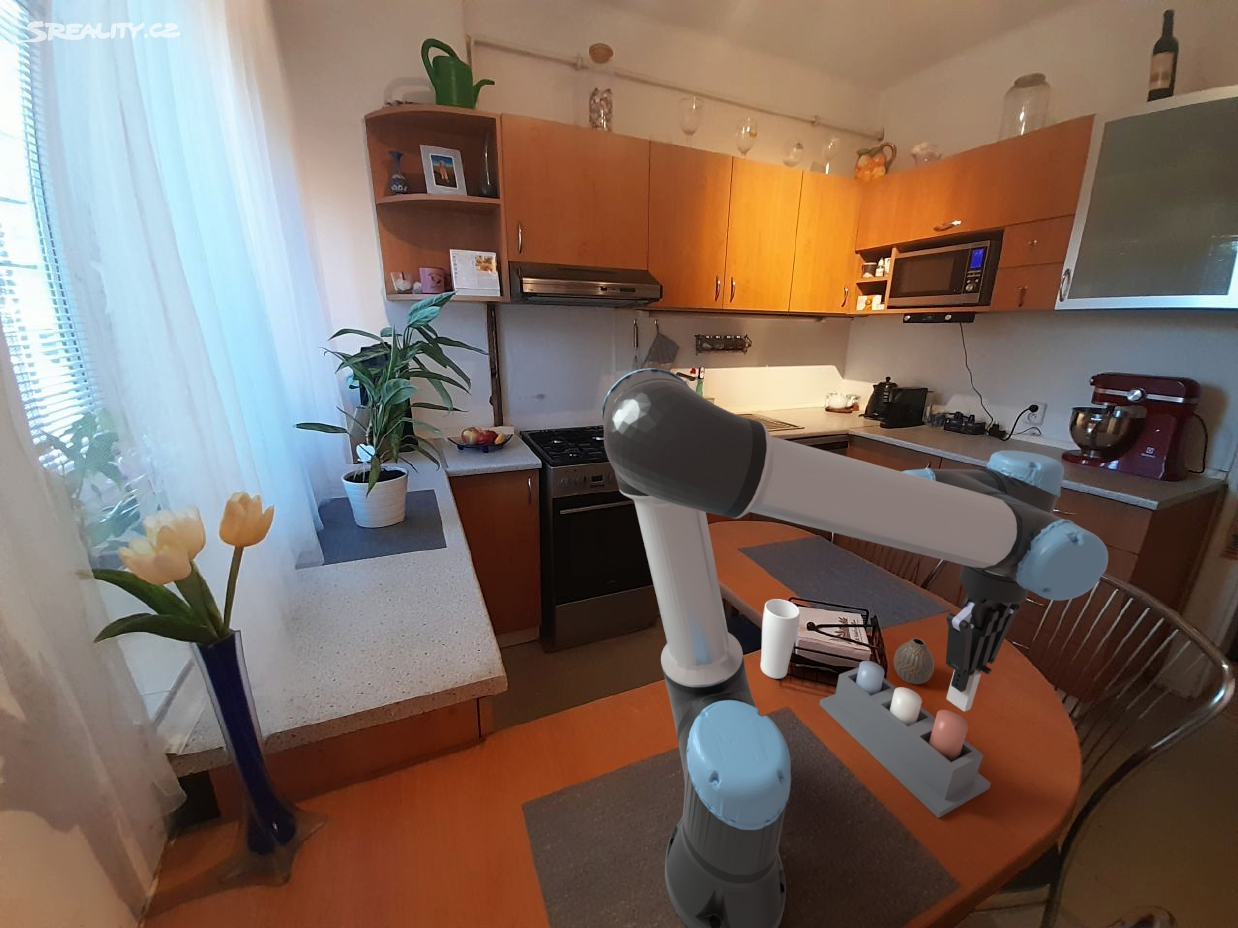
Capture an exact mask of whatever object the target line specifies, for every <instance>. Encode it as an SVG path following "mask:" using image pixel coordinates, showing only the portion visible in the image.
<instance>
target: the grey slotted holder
mask: <svg viewBox="0 0 1238 928" xmlns="http://www.w3.org/2000/svg"><path fill="white" fill-rule="evenodd" d="M858 670H859V667H856V668H853V669H851V670H848V671H845V672H842V673H840V674H838V679H837V685H836V687H835V690H836V691H835V693H834V694H832V695H829V696H826V697H824V698H821V699H819V706H820V707H821V708H822V709H823V710H824V711H825V712H826V713H827V714H828V715H829V716H830V717H831V718H833V719H834V720H835V721H836V722H837V723H838V724H839V725H840V726H841V727H842V728H843V729H844V730H845V731H846V732H847V733H848V734H849V735H850V736H851V737H852V738H853V739H854V740H856V742H857V743H858V744H859V745H861V746H862V747H863V749H865V750H866V751H867V752H868V753H869V755H871V756H873V757H874V759H876V760H877V761H878V762H879V763H880V764H881V765H882V766H883V767H884V768H885V769H886V770H887V771H888V772H889V773H890V774H891V775H892V776H893V777H894V778H895V779H896V780H898V781H899V783H900V784H902V786H903V787H905V788H906V789H907V790H908V791H909V792H910V793H911V794H912V795H913V796H914V797H915V798H917V800H918V801H919V802H921V803H922V805H924V806H925V807H926V808H927V809H928V810H929V811H930V812H931V813H932V814H933V815H934V816H936V818H938V819H939V818H941V817H944V815H946V814H948V813H950V812H952V811H954V810H955V809H957V808H959V807H960V806H962V805H963V804H966V803H967V802H968V801H971V800H972V799H975V797H978V796H980V795H981V794H983V793H985V792H986V791H988V790H989V789H990V787H991V785H992V783H991V782H990V781H989V780H988V779H986V777H984V776H983V775H981V774H980V773H979V769H980V766H981V763H982V760H983V758H984V754H983V753H982V752H981V751H980V750H978V749H977V748H975V747H974V745H972V744H971V743H969V742H968V741H966V740H964V743H963V746H962V749H961V753H960V756H959V759H957V760H955V761H953V762H950V761H949V760H948V759H946V758H945V757H944V756H943V755H942V754H940V753H939V752H938V751H937V750H935V749H934V748H933V747H932V746H931V745H929V741H930V737H931V733H932V730H933V726H934V723H935V719H936V717H935V716H934V715H933V714H932V713H931V712H929V711H928V710H927V709H925V708H924V707H922V706H921V707H920V711H919V715H918V719H917V722H916V723H915V724H912V725H910V726H907V725H905V724H904V723H903V722H902V721H901V720H899V719H898V718H897V717H896V716H895V715H893V714H892V713H891V712H890V707H891V703H892V699H893V694H894V690H895V689H896V688H897V687H896V686H895V685H894V684H892V683H891V682H890V681H889V680H887V679H886V678H885V677H883V682H882V686H881V690H880V692H879V693H877V694H874V695H872V696H870V695H869V694H868V693H867V692H866V691H864V690H863V689H862V688H861V687H860V686H858V685H857V684H856V680H857V675H858Z"/></svg>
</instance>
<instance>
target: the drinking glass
mask: <svg viewBox="0 0 1238 928" xmlns="http://www.w3.org/2000/svg"><path fill="white" fill-rule="evenodd" d="M800 614H801V610H800V608H799V607H798V605H796V604H794V603H793V602H791V601H788V600H785V599H779V598H773V599H769V600H767V601H766V602H765V603H764V608H763V614H762V621H761V651H760V652H761V654H760V655H761V656H760V664H759V665H760V670H761V672H762V673H763V674H764V675H765V676H767V677H769V678H771V679H777V680H778V679H780V680H781V679H783V678H784V677H785V676H787V674H788V669H789V664H790V660H791V656H792V653H793V649H794V646H795V642H796V639H797V634H798V630H799V624H800Z"/></svg>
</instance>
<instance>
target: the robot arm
mask: <svg viewBox="0 0 1238 928" xmlns="http://www.w3.org/2000/svg"><path fill="white" fill-rule="evenodd" d="M601 423H602V425H603V444H604V450H605V453H606V456H607V460H608V461H609V463H610V465H611V467H612V468H613V470H614V474H615V475H614V476H615V479H616V483H617V486H618V489H619V492H620V493H621V494H622V495H623V496H625V497H627V498H629V499H631V500H633V502H634V506H635V510H636V514H637V515H636V516H637V519H638V523H639V527H640V532H641V536H642V540H643V543H644V544H643V545H644V548H645V552H646V558H647V561H648V567H649V570H650V574H651V579H652V584H653V587H654V591H655V594H656V600H657V604H658V608H659V613H660V617H661V622H662V625H663V630H664V633H665V639H666V643H665V646H663V648H662V649H663V650H662V651H661V656H660V663H661V667H662V672H663V675H664V679H665V680H664V681H665V685H666V689H667V693H668V697H669V702H670V706H671V712H672V716H673V721H674V727H675V733H676V738H677V743H678V744H677V745H678V749H679V755H680V760H681V766H682V771H683V778H684V795H683V796H684V797H683V798H684V799H683V809H682V816H681V818H680V819H679V821H678V823H677V824H676V826H675V828H674V829H673V831H672V832H671V835H670V837H669V839H668V843H667V847H666V852H665V859H664V860H665V861H664V879H665V886H666V890H667V893H668V897H669V899H670V902H671V904H672V906H673V908H674V910H675V912H676V914H677V915H678V917H679V919H680V920H681V921H682V923H683V924H684V926H685V927H687V928H779V926H780V924H781V921H782V918H783V913H784V911H785V910H784V909H785V906H786V905H785V904H786V897H787V881H786V874H785V870H784V867H783V862H782V859H781V855H780V851H779V846H780V840H781V835H782V829H783V825H784V824H783V823H784V819H785V812H786V807H787V802H788V801H789V797H790V792H791V784H792V775H791V768H792V767H791V765H792V764H791V763H792V762H791V755H790V751H789V747H788V744H787V741H786V739H785V737H784V735H783V733H782V731H781V730H780V728H779V727H778V726H777V724H776V723H775V722H774V721H773V720H772V719H771V718H770V717H769V716H768V715H764V716H763V715H762V714H761V712H760V710H759V709H758V707H757V704H756V702H755V699H754V697H753V694H752V691H751V688H750V685H749V680H748V676H747V675H748V674H747V669H746V665H745V658H744V654H743V653H744V652H743V649H742V646H741V644H740V641H739V640H738V639H737V638H736V637H735V636H734V635H733V634H732V633H730V632H728V631H729V630H728V627H727V621H726V616H725V610H724V605H723V600H722V594H721V587H720V582H719V578H718V572H717V567H716V561H715V555H714V550H713V546H712V539H711V535H710V530H709V524H708V518H707V513H708V514H713V515H717V516H721V517H725V518H730V519H734V520H737V519H740V518H742V517H744V516H745V515H747V514H748V513H754V514H757V515H761V516H766V517H769V518H772V519H773V518H774V519H778V520H782V521H786V522H790V523H793V524H797V525H803V526H805V527H809V528H815V529H816V530H817V529H818V530H822V531H824V532H825V531H826V532H830V533H834V534H838V535H841V536H844V537H845V536H846V537H850V538H853V539H858V540H862V541H867V542H870V543H875V544H878V545H882V546H886V547H891V548H894V549H898V550H903V551H907V552H911V553H914V554H918V555H923V556H927V557H930V558H935V559H939V560H943V561H946V562H950V563H955V564H960V565H961V569H960V573H959V576H958V580H959V583H960V584H961V586H963V588H964V590H965V591H966V595H965V597H964V599H963V600H962V602H961V609H962V610H960V611H959V613H957V614H955V613H953V612H949V613H948V614H947V616H946V623H947V626H948V631H947V632H948V633H947V641H946V642H947V643H946V644H947V645H946V655H945V665H947V666H948V667H949V668H950V669H952V670H953V673H952V677H951V680H950V684H949V687H948V691H947V694H946V700H947V701H948V702H950V703H951V704H953V705H954V706H955V707H956V708H958V709H960V710H961V711H963V712H964V713H966V712H967V711H969V710H971V709H972V707H973V706H972V705H973V702H974V699H975V696H976V693H977V689H978V686H979V683H980V679H981V676H982V673H985V674H986V675H990V674H991V673H992V668H990V667H988V664H990V665H991V664H994V663H995V661H996V658H997V656H998V654H999V651H1000V650H1001V648H1002V644H1003V642H1004V640H1005V638H1006V636H1007V634H1008V632H1009V629H1010V627H1011V625H1012V623H1013V620H1014V618H1015V617H1016V616H1017V614H1018V613H1019V611H1020V610H1021V608H1022V605H1021V604H1022V602H1024V601H1025V600H1026V599H1027V598H1028V594H1029V592H1032V593H1035V594H1036V595H1038V596H1040V597H1042V598H1043V599H1047V600H1052V601H1066V600H1072V599H1076V598H1078V597H1081V596H1083V595H1085V594H1086V593H1088V592H1089V591H1090V590H1092V589H1093V588H1094V587H1095V586H1096V585H1098V583H1099V581H1100V579H1101V577H1102V575H1104V573H1105V572H1106V570H1107V568H1108V565H1109V564H1108V563H1109V552H1108V549H1107V546H1106V544H1105V543H1104V541H1103V540H1102V539H1101V538H1100V537H1099V536H1098V535H1096V534H1095V533H1093V532H1091V531H1089V530H1087V529H1085V528H1083V527H1081V526H1080V525H1078V524H1076V523H1075V522H1074V521H1072V520H1070V519H1064V518H1062V517H1060V516H1057V515H1054V510H1055V507H1056V505H1057V502H1058V499H1059V498H1060V497H1061V491H1062V490H1061V489H1062V484H1063V479H1064V474H1065V468H1064V465H1063V464H1062V463H1061V462H1060V461H1059V460H1057V459H1055V458H1053V457H1050V456H1047V455H1044V454H1043V455H1042V454H1040V453H1039V454H1038V453H1035V452H1029V451H1020V450H1011V449H1010V450H1000V451H996V452H993V453H992V454H991V455H990V458H989V461H988V462H987V463H986V468H979V469H960V468H959V469H957V468H956V469H955V468H954V469H953V468H952V469H949V468H946V469H945V468H937V469H936V468H931V467H926V468H920V469H909V470H908V469H907V470H903V471H900V470H895V469H892V468H889V467H885V466H882V465H880V464H879V465H878V464H874V463H870V462H867V461H864V460H859V459H856V458H852V457H848V456H846V455H842V454H838V453H833V452H831V451H827V450H823V449H820V448H816V447H812V446H809V445H805V444H802V443H801V444H800V443H798V442H793V441H789V440H786V439H783V438H780V437H776V436H771V434H770V432H769V430H768V428H767V425H765V423H764V422H761V421H759V420H755V419H751V418H747V417H743V416H741V415H738V414H736V413H734V412H731V411H729V410H726V409H724V408H722V407H720V406H718V405H716V404H714V403H713V402H711V401H710V400H708V399H706V398H705V397H703V396H702V395H700V394H699V393H697V392H696V391H695V390H694V389H692V387H690V386H689V385H688V383H687V382H686V381H685V380H684V379H683V378H682V377H680V376H679V375H677V374H676V373H674V372H672V371H669V370H668V369H667V370H666V369H663V368H662V369H661V368H654V367H653V368H641V369H637V370H634V371H631V372H629V373H627V374H625V375H623V376H622V377H621V378H620V379H618V380H617V381H616V382H615V383H614V385H612V386H611V388H610V389H609V391H608V392H607V395H606V396H605V397H604V401H603V404H602V408H601ZM981 672H982V673H981Z"/></svg>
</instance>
